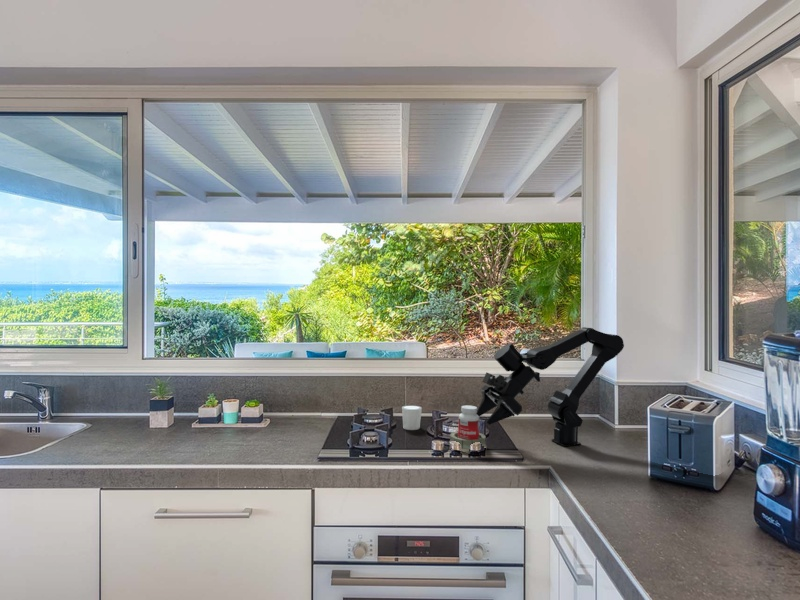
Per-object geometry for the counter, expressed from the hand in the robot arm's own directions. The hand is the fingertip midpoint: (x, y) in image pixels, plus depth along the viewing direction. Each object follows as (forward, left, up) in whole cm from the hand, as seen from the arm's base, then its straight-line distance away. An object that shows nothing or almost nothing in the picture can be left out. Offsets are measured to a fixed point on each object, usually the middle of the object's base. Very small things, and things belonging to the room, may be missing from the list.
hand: (482, 419), depth 149 cm
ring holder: (+4, -1, -8) cm, 9 cm away
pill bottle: (+4, -1, -7) cm, 8 cm away
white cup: (+12, -26, -8) cm, 30 cm away
